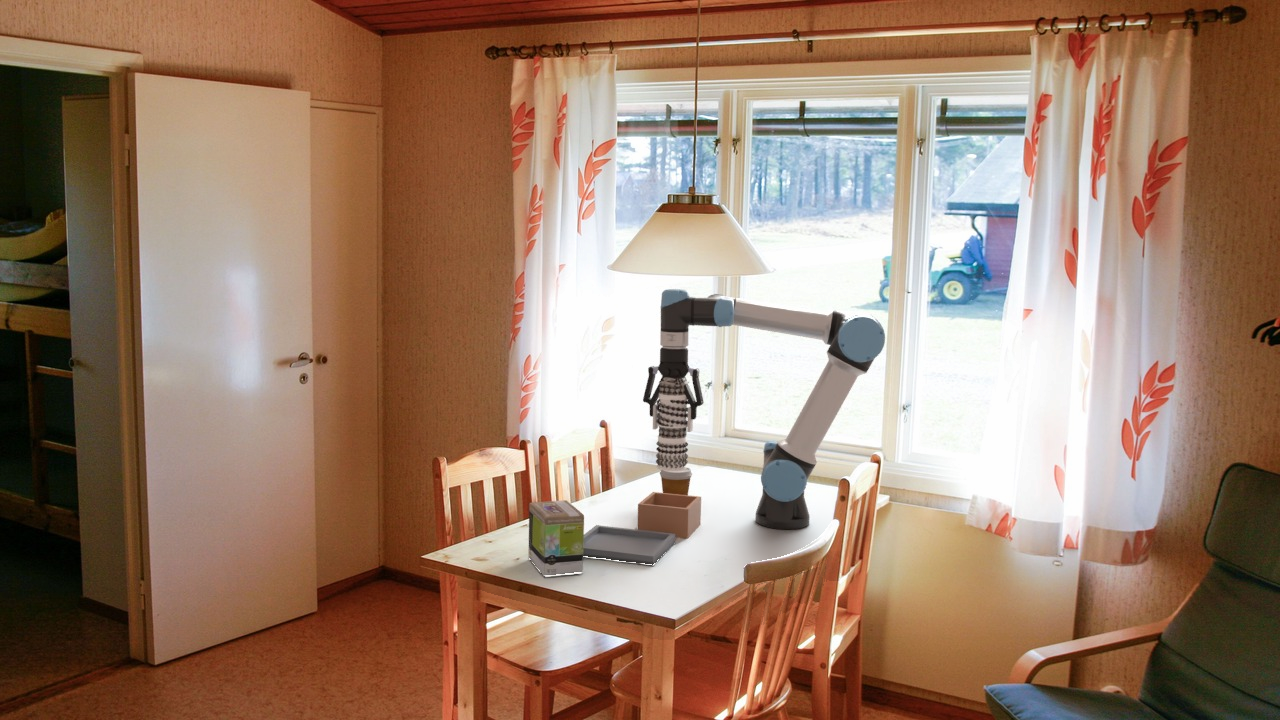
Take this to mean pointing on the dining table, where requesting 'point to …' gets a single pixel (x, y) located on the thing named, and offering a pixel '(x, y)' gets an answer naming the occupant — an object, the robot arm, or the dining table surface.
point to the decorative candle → (672, 425)
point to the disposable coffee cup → (676, 481)
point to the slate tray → (626, 544)
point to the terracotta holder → (670, 514)
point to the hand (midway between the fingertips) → (672, 429)
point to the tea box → (556, 537)
